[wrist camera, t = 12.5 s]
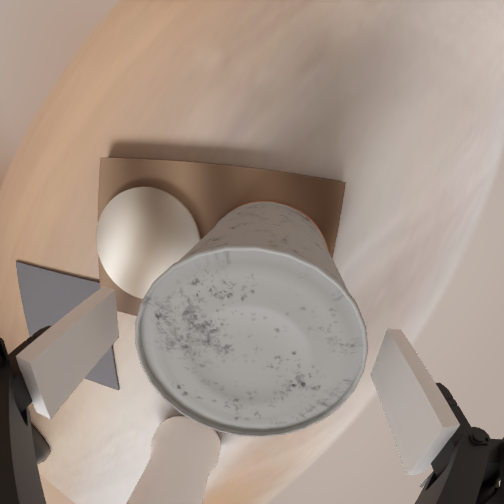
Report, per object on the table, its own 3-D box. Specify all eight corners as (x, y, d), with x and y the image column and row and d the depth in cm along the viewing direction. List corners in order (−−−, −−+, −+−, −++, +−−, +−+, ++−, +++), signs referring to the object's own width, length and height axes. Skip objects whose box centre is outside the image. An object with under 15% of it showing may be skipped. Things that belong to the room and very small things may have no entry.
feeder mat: (36, 356, 32) (35, 357, 32) (16, 261, 28) (15, 261, 28) (119, 389, 31) (118, 390, 31) (106, 283, 27) (105, 284, 27)
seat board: (107, 302, 28) (98, 309, 26) (107, 157, 24) (96, 157, 22) (311, 338, 27) (312, 349, 25) (342, 181, 23) (347, 182, 21)
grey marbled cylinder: (304, 183, 21) (330, 204, 9) (342, 299, 23) (382, 408, 12) (184, 228, 23) (96, 290, 11) (231, 333, 25) (197, 446, 13)
